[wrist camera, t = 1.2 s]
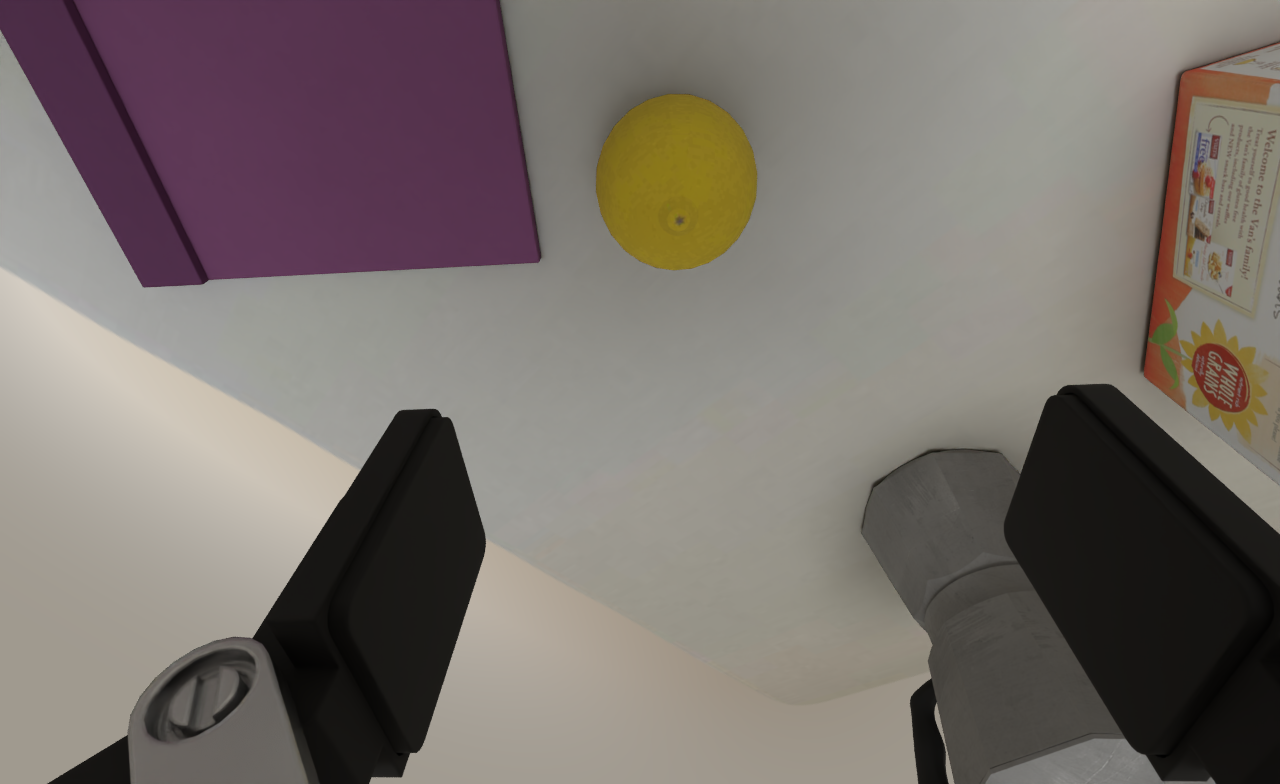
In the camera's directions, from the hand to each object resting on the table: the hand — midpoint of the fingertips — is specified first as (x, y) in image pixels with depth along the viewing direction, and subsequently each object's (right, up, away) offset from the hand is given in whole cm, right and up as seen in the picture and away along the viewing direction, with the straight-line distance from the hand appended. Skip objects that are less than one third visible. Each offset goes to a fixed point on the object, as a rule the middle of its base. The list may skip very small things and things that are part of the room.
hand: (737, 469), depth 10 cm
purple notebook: (-15, +13, +14) cm, 24 cm away
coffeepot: (+15, -6, +26) cm, 30 cm away
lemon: (0, +11, +15) cm, 18 cm away
